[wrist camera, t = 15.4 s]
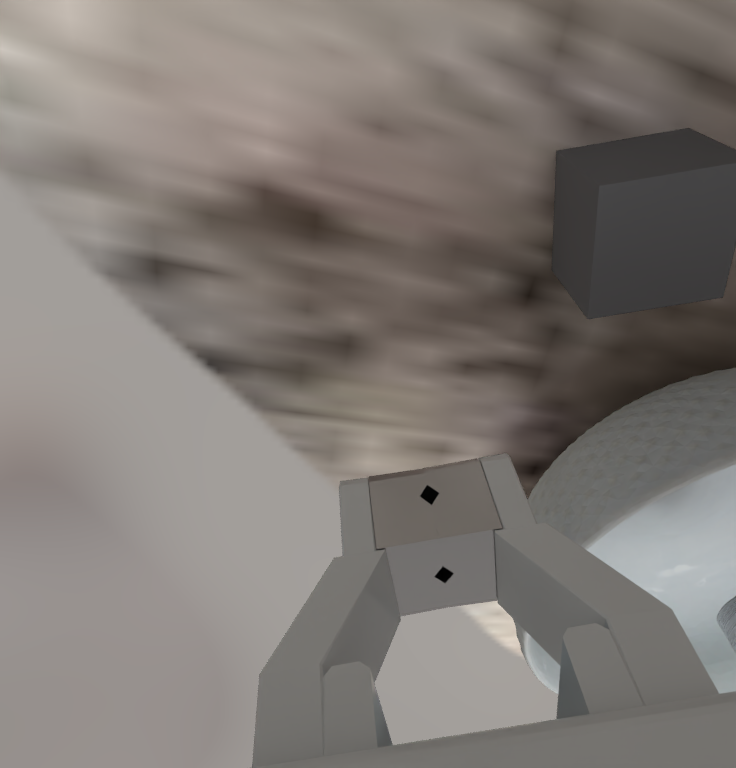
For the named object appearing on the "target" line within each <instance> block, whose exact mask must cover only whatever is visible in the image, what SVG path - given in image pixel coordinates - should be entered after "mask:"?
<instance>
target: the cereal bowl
mask: <svg viewBox="0 0 736 768" xmlns="http://www.w3.org/2000/svg"><path fill="white" fill-rule="evenodd" d="M528 502H529V504H530V507H531V509H532V511H533V514H534V516H535V519H536V521H537V524H538V523H548V524H549V525H551V526H552V527H554V528H555V529H557V530H558V531H559V532H561V533H562V534H564V535H565V536H567V537H568V538H570V539H571V540H573V541H574V542H575V543H577V544H578V545H580V546H581V547H583V548H584V549H586V550H587V551H588V552H590V553H591V554H593V555H594V556H596V557H597V558H599V559H600V560H602V561H603V562H604V563H606V564H607V565H609V566H610V567H612V568H613V569H615V570H616V571H618V572H619V573H620V574H622V575H623V576H625V577H626V578H628V579H629V580H631V581H632V582H633V583H635V584H636V585H638V586H639V587H641V588H642V589H644V590H645V591H647V592H648V593H649V594H651V595H652V596H654V597H655V598H657V599H658V600H660V601H661V602H662V603H664V604H665V605H667V606H668V607H670V608H671V609H672V610H673V612H674V614H675V615H676V617H677V619H678V621H679V623H680V624H681V626H682V628H683V630H684V631H685V633H686V635H687V637H688V639H689V640H690V642H691V644H692V646H693V648H694V649H695V651H696V653H697V655H698V656H699V658H700V660H701V662H702V664H703V665H704V667H705V669H706V671H707V673H708V674H709V676H710V678H711V680H712V681H713V683H714V685H715V687H716V689H717V690H718V692H719V694H721V693H727V692H734V691H736V653H735V651H734V650H733V648H732V646H731V645H730V643H729V641H728V640H727V638H726V636H725V635H724V633H723V631H722V630H721V628H720V626H719V625H718V623H717V614H718V612H719V611H720V609H721V608H722V607H723V605H724V604H726V603H727V602H728V601H729V600H730V599H732V598H733V597H735V596H736V367H735V368H732V369H725V370H716V371H713V372H711V373H708V374H705V375H699V376H693V377H691V378H689V379H687V380H684V381H680V382H676V383H674V384H669V385H667V386H666V387H664V388H662V389H660V390H656V391H653V392H651V393H650V394H647V395H645V396H643V397H641V398H640V399H638V400H635V401H633V402H632V403H630V404H628V405H625V406H623V407H622V408H621V409H620V410H617V411H614V412H613V413H612V414H611V415H610V416H607V417H605V418H604V419H603V420H602V421H601V422H599V423H597V424H596V425H594V426H593V427H592V428H590V429H588V430H587V431H586V432H585V433H584V434H583V435H581V436H580V437H578V438H577V440H576V441H575V442H574V443H572V444H571V445H569V446H568V447H567V449H566V450H565V451H564V452H562V454H561V455H559V456H558V458H557V459H556V460H555V461H554V462H553V463H552V465H551V466H550V468H549V469H548V470H546V471H545V472H544V474H543V476H542V477H541V478H540V480H539V482H538V483H537V484H536V485H535V487H534V488H533V489H532V492H531V494H530V497H529V498H528ZM513 620H514V619H513ZM514 623H515V625H516V632H517V638H518V640H519V642H520V645H521V651H522V653H523V655H524V657H525V660H526V662H527V664H528V666H529V667H530V669H531V670H532V672H533V673H534V675H535V676H536V677H537V678H538V679H539V680H540V681H541V682H542V683H543V684H544V685H545V686H546V687H547V688H549V689H550V690H552V691H553V692H555V693H556V694H558V692H559V679H560V665H559V664H558V663H557V662H556V661H555V660H554V659H553V658H552V657H551V656H550V655H549V654H548V653H547V652H546V651H545V650H544V649H543V648H542V647H541V646H540V645H539V644H538V643H537V642H536V641H535V640H534V639H533V638H532V637H531V636H530V635H529V634H528V633H527V632H526V631H525V630H524V629H523V628H522V627H521V626H520V625H519V624H518V623H517V622H516V621H515V620H514Z"/></svg>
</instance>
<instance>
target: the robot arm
mask: <svg viewBox="0 0 736 768" xmlns="http://www.w3.org/2000/svg"><path fill="white" fill-rule="evenodd" d="M339 498H340V517H341V536H342V554H343V556H341V557H336V558H334V559H333V560H332V562H331V564H330V565H329V567H328V568H327V570H326V571H325V573H324V575H323V576H322V578H321V579H320V581H319V582H318V584H317V585H316V587H315V589H314V590H313V592H312V593H311V595H310V597H309V598H308V600H307V601H306V603H305V604H304V606H303V607H302V609H301V611H300V612H299V614H298V615H297V617H296V618H295V620H294V621H293V623H292V625H291V626H290V628H289V629H288V631H287V633H286V634H285V635H284V637H283V639H282V640H281V642H280V643H279V645H278V647H277V648H276V650H275V651H274V653H273V654H272V656H271V657H270V659H269V661H268V662H267V664H266V665H265V667H264V668H263V670H262V671H261V673H260V675H259V685H258V698H257V711H256V724H255V736H254V749H253V762H252V768H736V691H734V692H727V693H721V694H719V692H718V690H717V689H716V687H715V685H714V683H713V681H712V680H711V678H710V676H709V674H708V673H707V671H706V669H705V667H704V665H703V664H702V662H701V660H700V658H699V656H698V655H697V653H696V651H695V649H694V648H693V646H692V644H691V642H690V640H689V639H688V637H687V635H686V633H685V631H684V630H683V628H682V626H681V624H680V623H679V621H678V619H677V617H676V615H675V614H674V612H673V610H672V609H671V608H670V607H668V606H667V605H665V604H664V603H662V602H661V601H660V600H658V599H657V598H655V597H654V596H652V595H651V594H649V593H648V592H647V591H645V590H644V589H642V588H641V587H639V586H638V585H636V584H635V583H633V582H632V581H631V580H629V579H628V578H626V577H625V576H623V575H622V574H620V573H619V572H618V571H616V570H615V569H613V568H612V567H610V566H609V565H607V564H606V563H604V562H603V561H602V560H600V559H599V558H597V557H596V556H594V555H593V554H591V553H590V552H588V551H587V550H586V549H584V548H583V547H581V546H580V545H578V544H577V543H575V542H574V541H573V540H571V539H570V538H568V537H567V536H565V535H564V534H562V533H561V532H559V531H558V530H557V529H555V528H554V527H552V526H551V525H549V524H548V523H538V524H537V521H536V519H535V516H534V514H533V511H532V509H531V507H530V504H529V502H528V499H527V497H526V494H525V492H524V490H523V487H522V485H521V482H520V480H519V477H518V475H517V472H516V470H515V468H514V465H513V463H512V460H511V458H510V456H509V455H508V454H507V453H504V454H498V455H493V456H487V457H482V458H478V459H471V460H466V461H460V462H455V463H449V464H444V465H438V466H432V467H427V468H423V469H417V470H410V471H403V472H397V473H390V474H383V475H376V476H369V478H368V477H367V478H360V479H353V480H346V481H340V486H339ZM497 600H498V604H499V605H500V606H501V607H502V608H503V609H504V610H505V611H506V612H507V613H508V614H509V615H510V616H511V617H512V618H513V619H514V620H515V621H516V622H517V623H518V624H519V625H520V626H521V627H522V628H523V629H524V630H525V631H526V632H527V633H528V634H529V635H530V636H531V637H532V638H533V639H534V640H535V641H536V642H537V643H538V644H539V645H540V646H541V647H542V648H543V649H544V650H545V651H546V652H547V653H548V654H549V655H550V656H551V657H552V658H553V659H554V660H555V661H556V662H557V663H558V664H559V665H560V679H559V692H558V705H557V719H556V720H549V721H543V722H537V723H530V724H524V725H517V726H511V727H505V728H499V729H493V730H486V731H480V732H473V733H467V734H461V735H454V736H448V737H442V738H435V739H429V740H423V741H416V742H410V743H404V744H398V745H393V744H392V741H391V738H390V734H389V731H388V727H387V724H386V721H385V717H384V714H383V711H382V707H381V704H380V700H379V697H378V694H377V690H376V687H375V683H374V682H375V680H376V678H377V675H378V673H379V671H380V668H381V666H382V663H383V661H384V659H385V656H386V654H387V651H388V649H389V647H390V644H391V642H392V639H393V637H394V635H395V632H396V630H397V627H398V625H399V622H400V620H401V619H400V616H405V615H410V614H415V613H420V612H425V611H431V610H436V609H441V608H446V607H453V606H461V605H468V604H475V603H483V602H490V601H497Z"/></svg>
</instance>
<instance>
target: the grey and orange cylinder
mask: <svg viewBox="0 0 736 768" xmlns="http://www.w3.org/2000/svg"><path fill="white" fill-rule="evenodd" d="M717 623H718V625H719V626H720V628H721V630H722V631H723V633H724V635H725V636H726V638H727V640H728V641H729V643H730V645H731V646H732V648H733V650H734V651H735V653H736V596H735V597H733V598H732V599H730V600H729V601H728V602H727V603H726V604H724V605H723V607H722V608H721V609H720V611H719V612H718V614H717Z"/></svg>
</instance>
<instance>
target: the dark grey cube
mask: <svg viewBox="0 0 736 768" xmlns="http://www.w3.org/2000/svg"><path fill="white" fill-rule="evenodd" d="M735 246H736V150H735V149H733V148H730V147H728V146H726V145H724V144H722V143H720V142H718V141H715V140H713V139H711V138H709V137H707V136H705V135H703V134H700V133H698V132H696V131H694V130H692V129H690V128H686V129H680V130H675V131H669V132H663V133H657V134H651V135H645V136H640V137H634V138H628V139H622V140H616V141H611V142H605V143H599V144H593V145H587V146H582V147H576V148H570V149H564V150H558V151H557V152H556V176H555V201H554V225H553V249H552V271H553V273H554V274H555V275H556V277H557V278H558V280H559V281H560V282H561V284H562V285H563V286H564V288H565V289H566V290H567V292H568V293H569V294H570V296H571V297H572V299H573V300H574V301H575V303H576V304H577V305H578V307H579V308H580V309H581V311H582V312H583V313H584V315H585V316H586V317H587V319H593V318H599V317H605V316H611V315H617V314H624V313H630V312H636V311H642V310H648V309H655V308H661V307H667V306H673V305H679V304H685V303H692V302H698V301H704V300H710V299H716V298H723V296H724V291H725V287H726V283H727V279H728V275H729V271H730V266H731V262H732V258H733V254H734V250H735Z"/></svg>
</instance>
